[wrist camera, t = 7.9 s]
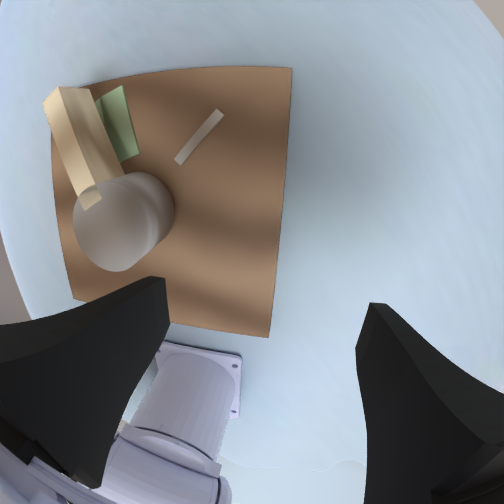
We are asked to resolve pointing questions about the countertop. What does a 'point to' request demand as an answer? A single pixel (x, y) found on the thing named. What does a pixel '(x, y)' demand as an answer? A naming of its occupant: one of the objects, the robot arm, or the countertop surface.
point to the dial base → (197, 189)
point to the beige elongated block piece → (106, 186)
